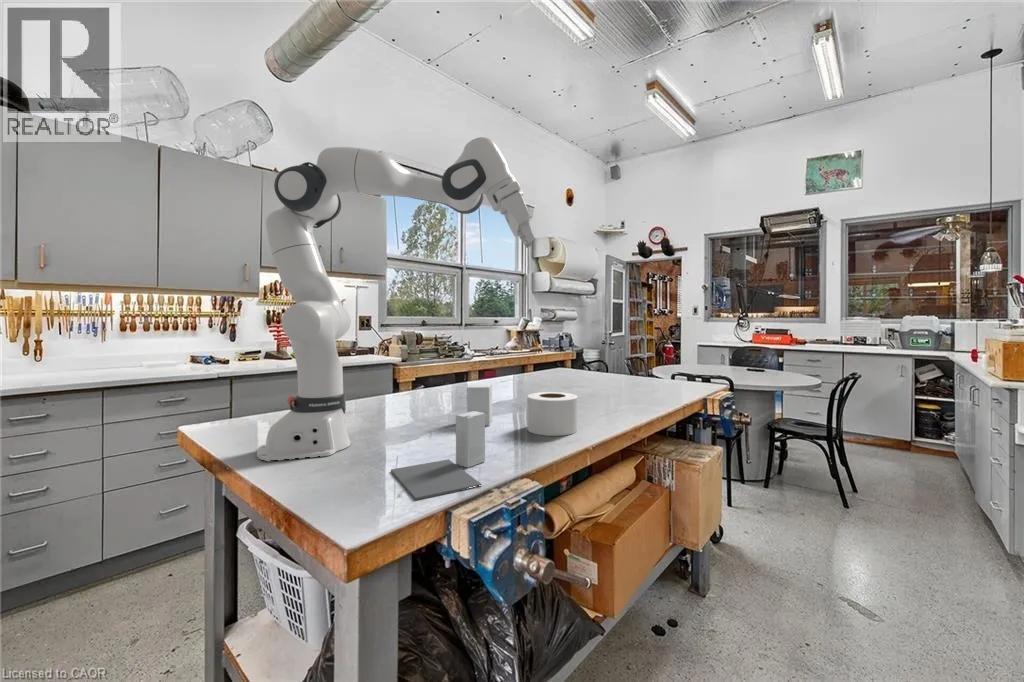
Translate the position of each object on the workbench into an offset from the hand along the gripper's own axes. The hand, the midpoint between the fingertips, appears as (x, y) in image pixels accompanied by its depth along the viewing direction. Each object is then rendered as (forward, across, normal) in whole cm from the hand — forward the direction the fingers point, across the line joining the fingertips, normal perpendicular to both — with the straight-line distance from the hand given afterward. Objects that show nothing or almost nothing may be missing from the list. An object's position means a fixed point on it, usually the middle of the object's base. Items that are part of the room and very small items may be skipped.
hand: (530, 244), depth 118 cm
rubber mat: (+37, +24, -46) cm, 63 cm away
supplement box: (+41, -25, -39) cm, 62 cm away
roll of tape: (+52, -17, -19) cm, 58 cm away
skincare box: (+41, +14, -39) cm, 58 cm away
